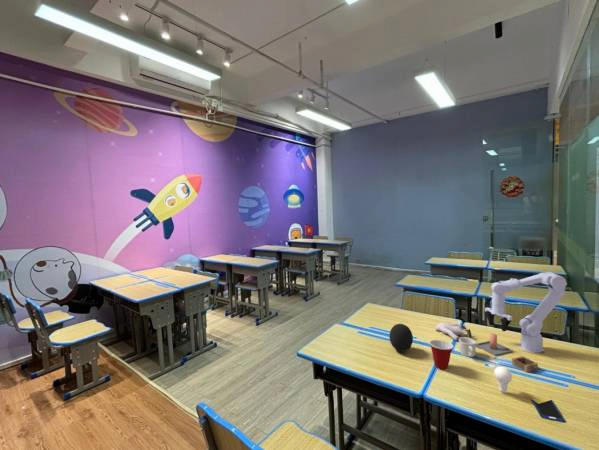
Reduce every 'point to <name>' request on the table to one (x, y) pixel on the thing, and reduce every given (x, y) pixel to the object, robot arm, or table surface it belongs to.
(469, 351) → the cup
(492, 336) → the pink rounded capsule
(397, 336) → the decorative egg
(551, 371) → the table surface
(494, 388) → the table surface
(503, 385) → the lightbulb
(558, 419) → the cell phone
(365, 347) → the table surface
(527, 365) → the holder
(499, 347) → the tray
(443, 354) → the plastic cup
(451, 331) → the yeti figurine
